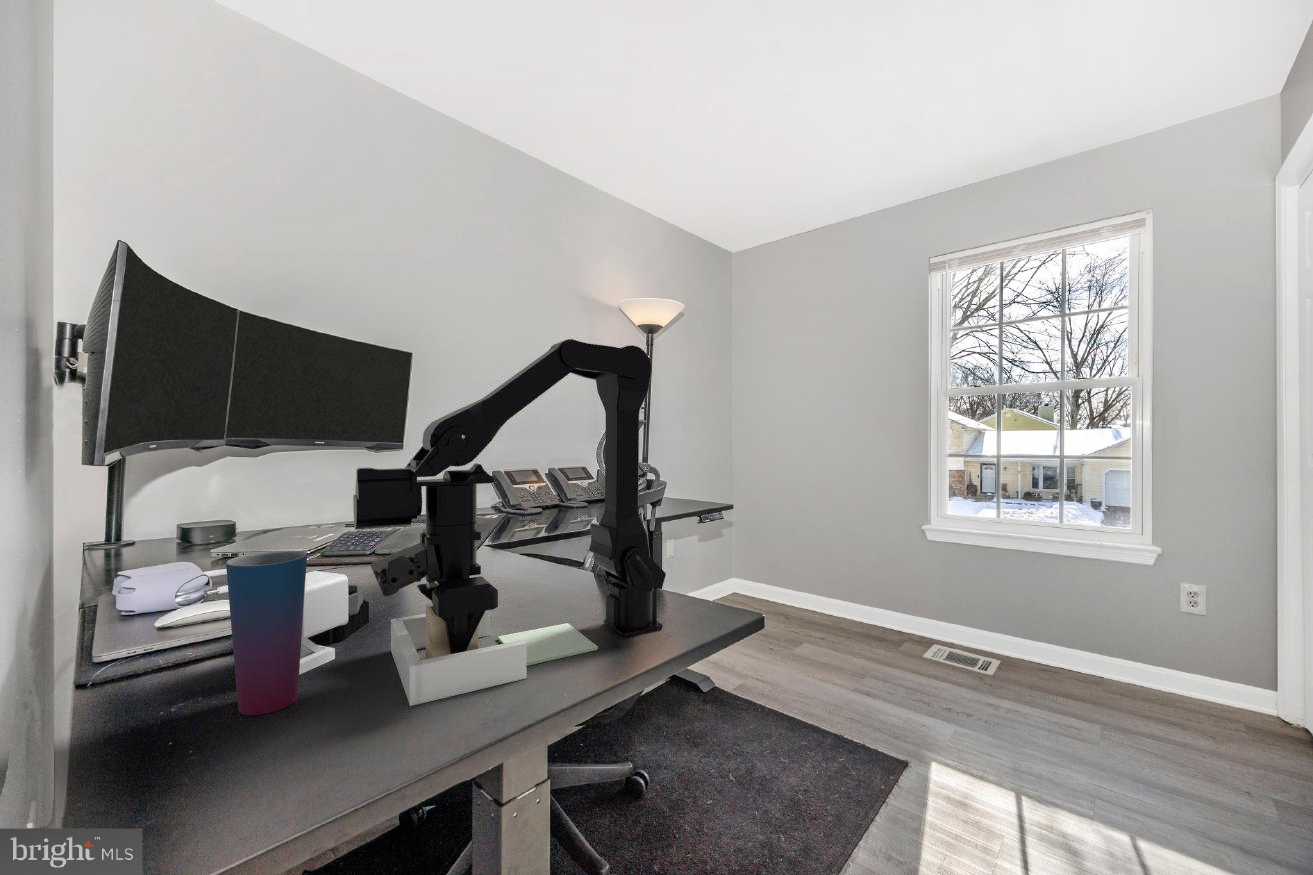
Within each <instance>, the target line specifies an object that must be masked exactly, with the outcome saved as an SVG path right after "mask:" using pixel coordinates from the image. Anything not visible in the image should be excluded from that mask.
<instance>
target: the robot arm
mask: <svg viewBox="0 0 1313 875" xmlns="http://www.w3.org/2000/svg"><path fill="white" fill-rule="evenodd" d="M652 369H653V365H652V360H651V356H649V355H648V354H647V353H646V352H645V350H643V349H642V348H641V347H640V346H636V345H632V344H631V345H626V346H622V347H617V346H612V345H604V344H597V343H587V342H583V341H580V340H576V339H574V338H571V339H569V338H568V339H565V340H562V341H559V342H557V343H554V344H553V345H551V346H550V347H549V349H548V350H547V351H545V353H543V354H542V355H540V356H539V357H538V358H536V359H535V360H534V361H532V362H530V363H529V364H528V365H527V366H525V367H524V368H522V369H521V370H520V371H518V372H517V373H516V374H514V375H513V376H511V377H510V378H509V379H507V380H506V381H504V382H503V383H501V384H500V385H499V386H497V387H496V388H495V389H494V390H492V391H491V392H489V393H488V394H486V395H485V396H484V397H482V398H481V399H479V400H476V401H474V402H472V403H470V404H467V405H465V406H463V407H460V408H457V409H456V410H453V411H452V412H449V413H447V414H445V415H444V416H441V417H439V418H438V419H435V420H433V421H432V422H430V424H428V425H427V426H426V427H425V429H424V431H423V433H422V434H423V435H422V440H421V444H422V446H421V447H420V448H419V449H418V451H417V452H416V453H415V454H414V455H413V457H412V458H411V459H409V462H408V463H407V464H406V466H405V467H404V468H403V467H402V468H400V467H398V468H396V467H395V468H373V467H358V468H356V469H355V470H356V471H355V472H356V473H355V474H356V477H355V478H356V479H355V494H353V503H352V504H353V505H352V507H353V509H352V510H353V525H354V526H353V527H354V530H355V531H356V530H357V531H359V530H371V529H373V530H374V529H382V528H394V527H395V528H397V527H408V526H411V525H412V522H413V520H416V519H418V517H420V516H421V514H422V511H423V493H422V491H423V490H422V489H423V488H422V487H425V528H424V529H422V532H420V533H419V543H416V544H414V545H412V546H409V547H406V548H403V549H400V550H398V551H396V552H393V553H392V554H389V555H387V556H385V557H382V558H380V559H378V560H376V561H374V562H372V563H371V564H370V568H371V570H372V572H373V575H374V577H375V579H376V582H377V584H378V587H379V588H380V592H381V594H382V596H383V597H388V596H393V595H394V594H397V593H398V592H399V591H400V590H401V589H404V588H405V587H407V586H410V585H412V584H414V583H418V582H421V580H422V579H423V583H421V584H418V585H416V588H417V589H418V590H419V592H420V593H421V594H422V595H424V597H426V598H427V599H428V600H429V601H431V604H433V606H430V608H431V609H432V611H433V612H434V614H435V615H436V616H438V617H440V618H441V619H443V620H444V622H445V627H446V633H447V638H448V644H449V649H450V654H455V653H460V652H465V651H466V650H467V648H468V646H469V644H470V641H471V639H472V637H473V635H474V633H475V631H476V629H477V626H478V625H479V623H480V621H481V619H482V617H483V615H484V613H485V611H487V610H490V611H491V610H492V611H493V610H495V609H497V608H498V607H499V590H498V588H496V587H495V586H494V585H493V584H491V583H490V582H489V581H488V580H487V579H486V578H484V576H482V565H480V564H479V563H478V562H477V555H478V554H477V541H481V540H482V532H481V530H479V529H478V528H477V527H478V526H477V522H478V521H477V513H478V512H477V507H478V506H477V501H478V500H477V497H478V496H477V492H478V490H477V489H478V488H477V485H481V484H482V485H484V484H485V485H486V484H493V483H494V482H495V478H494V477H493V476H492V475H490V474H489V473H488V472H487V471H486V470H485V468H484V467H483V465H482V464H481V463H478V462H475V463H474V464H472V466H470V468H469V469H457V470H456V469H455V470H447V469H449V468H450V467H456V468H458V467H464V466H466V465H468V464H470V463H472V462H473V461H474V460H475V459H477V457H478V456H479V455H480V454H481V453H482V452H483V451H484V450H485V449H486V448H487V447H488V445H489V444H490V443H491V442H492V441H493V440H494V438H495V437H496V435H497V434H498V432H499V431H500V429H501V428H503V426H504V425H505V424H506V423H507V421H509V420H510V419H512V418H513V417H514V416H516V415H517V414H518V413H519V412H520V411H522V410H524V408H526V407H527V406H529V405H530V404H531V403H533V402H535V400H537V399H538V398H539V397H541V395H543V394H544V393H546V392H547V391H548V390H550V389H551V388H552V387H554V386H555V385H556V384H557V383H559V382H560V381H562V380H563V379H564V378H566V376H568V375H569V374H571V375H574V376H578V377H581V378H585V379H590V380H594V381H595V385H596V389H597V390H596V392H597V394H598V397H599V398H600V401H601V403H602V406H603V409H604V412H605V434H604V435H605V439H604V440H605V441H604V442H605V445H604V446H605V447H604V448H605V450H604V451H605V457H604V458H605V459H604V460H605V462H604V464H605V465H604V466H605V467H604V470H605V471H604V511H603V514H602V517H601V518H600V521H599V523H590V525H589V531H590V539H591V540H590V545H589V548H588V551H589V552H590V553H592V555H593V560H594V562H595V563H596V565H598V566H599V567H600V568H601V569H602V571H603V574H604V576H605V579H606V580H611V581H612V582H610V583H608V594H607V595H606V598H605V609H606V610H605V618H604V619H603V623H604V624H605V625H606V626H608V627H609V628H611V629H612V630H613V631H615V632H616V633H618V634H619V635H621V636H622V637H628V636H633V635H638V634H643V633H647V632H651V631H650V630H652V631H654V630H653V629H656V630H658V629H657V628H661V629H663V628H664V625H663V623H662V622H660V621H658V590H659V589H662V588H663V586H664V583H665V579H666V575H667V573H666V571H664V570H663V569H662V568H661V567H660V566H659V565H658V564H657V562H655V561H654V560H653V559H652V557H651V551H650V544H649V538H648V532H647V530H646V528H645V526H644V523H643V520H642V517H641V516H640V511H639V492H640V491H639V486H640V485H639V484H640V482H639V477H640V476H639V474H640V473H639V472H640V470H639V468H640V463H639V462H640V459H639V458H640V456H639V455H640V411H641V408H642V406H643V404H644V401H645V399H646V397H647V395H648V393H649V391H650V390H649V388H650V383H651V378H652V377H651V376H652ZM441 473H443V475H442V477H441V478H432V479H431V478H430V479H418V478H429V477H436V476H438V475H440V474H441ZM479 575H481V576H479ZM470 576H474V577H470ZM662 627H663V628H662ZM646 631H647V632H646Z"/></svg>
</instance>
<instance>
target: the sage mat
mask: <svg viewBox="0 0 1313 875" xmlns="http://www.w3.org/2000/svg"><path fill="white" fill-rule="evenodd" d="M497 640H498V641H499V642H500V643H501V644H505V643H510V642H515V641H520V640H524V641H525V642H526V643H527V644H526V667H527V666H531V665H536V664H540V663H544V662H548V661H549V662H550V661H554V660H558V659H562V658H563V659H564V658H566V657H572V656H575V655H581V654H585V653H589V652H593V651H597V650H599V647H598V645H596V643H594V642H592V641H591V639H588V637H586V636H585V635H583V634H582V633H581V632H580V631H578V630H577V629H575V627H574V626H573V625H571V624H570V623H568V622H566V623H562V624H555V625H551V626H546V627H545V626H544V627H540V628H536V629H529V630H524V631H519V632H514V633H509V634H505V635H504V634H503V635H498V637H497Z"/></svg>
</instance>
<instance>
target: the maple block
mask: <svg viewBox="0 0 1313 875" xmlns="http://www.w3.org/2000/svg"><path fill="white" fill-rule="evenodd" d="M430 606H433V604H432V603H428V604H425V614H426V648H425V659H430V658H435V657H440V656H445V655H450V649H449V644H448V638H447V633H446V627H445V622H444V620H443V619H441V618H440V617H438V616H436V615H435V614H434V612H433V611H432V609H431V608H430ZM475 649H479V638H478V626H477V629H476V631H475V633H474V635H473V637H472V639H471V641H470V644H469V646H468V648H467V650H466V651H470V650H475Z"/></svg>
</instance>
